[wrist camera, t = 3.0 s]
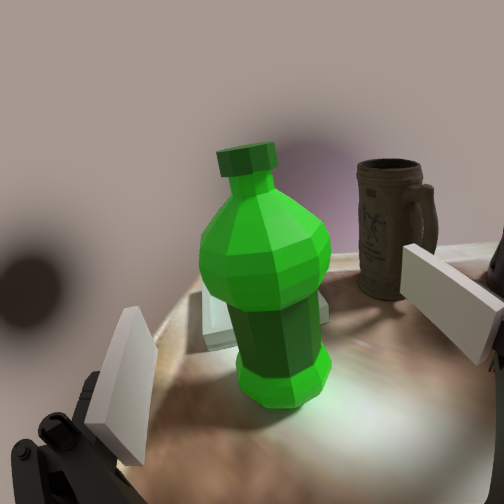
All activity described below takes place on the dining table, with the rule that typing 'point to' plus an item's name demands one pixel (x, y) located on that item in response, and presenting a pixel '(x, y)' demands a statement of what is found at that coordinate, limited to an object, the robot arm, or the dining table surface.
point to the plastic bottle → (268, 280)
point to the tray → (219, 322)
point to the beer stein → (392, 222)
